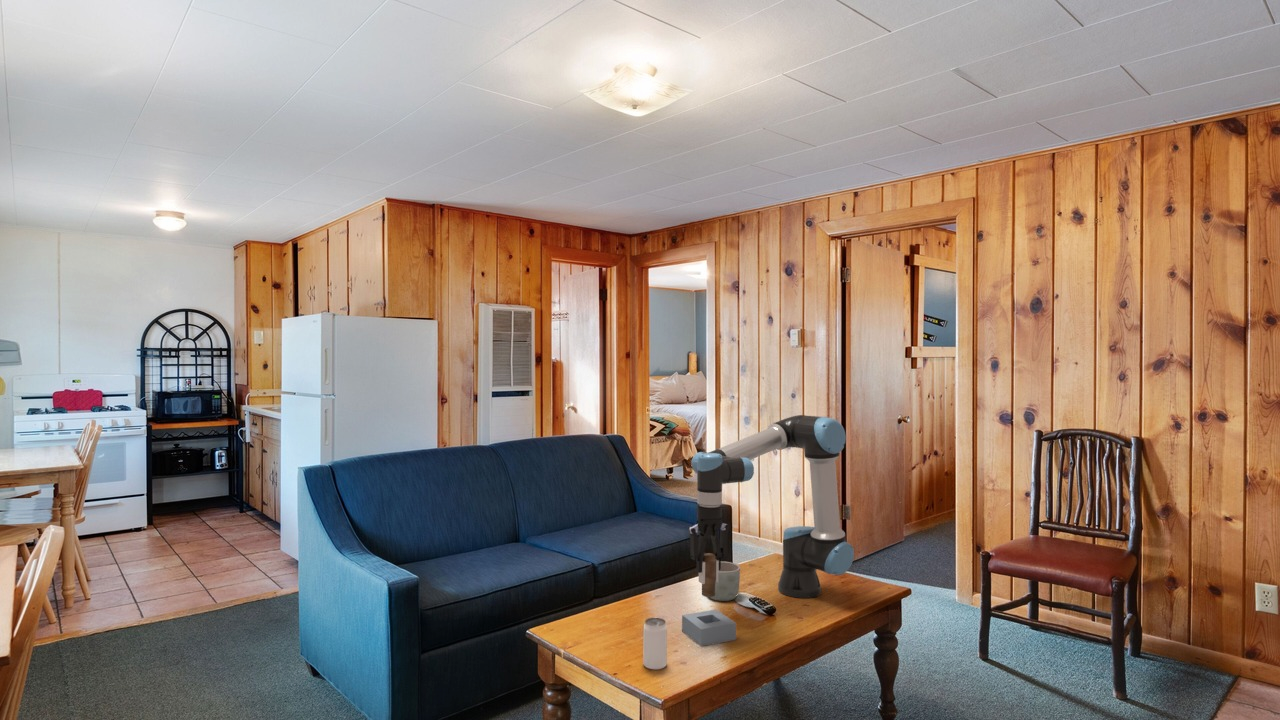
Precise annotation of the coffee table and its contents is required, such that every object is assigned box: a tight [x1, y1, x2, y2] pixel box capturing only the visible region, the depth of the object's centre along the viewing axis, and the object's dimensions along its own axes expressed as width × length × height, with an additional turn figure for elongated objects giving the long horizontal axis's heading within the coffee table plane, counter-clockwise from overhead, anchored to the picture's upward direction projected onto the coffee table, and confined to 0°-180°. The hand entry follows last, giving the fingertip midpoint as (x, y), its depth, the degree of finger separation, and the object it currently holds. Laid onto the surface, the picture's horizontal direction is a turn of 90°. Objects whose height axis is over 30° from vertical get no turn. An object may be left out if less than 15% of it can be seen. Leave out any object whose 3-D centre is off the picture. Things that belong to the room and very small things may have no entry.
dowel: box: [701, 552, 715, 598], centre depth 208 cm, size 4×4×12 cm
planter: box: [709, 560, 741, 602], centre depth 242 cm, size 12×12×11 cm
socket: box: [681, 609, 737, 647], centre depth 208 cm, size 12×12×5 cm
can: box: [642, 617, 668, 671], centre depth 188 cm, size 6×6×12 cm
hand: (708, 581), depth 208 cm, fingers closed on dowel, 4 cm apart
